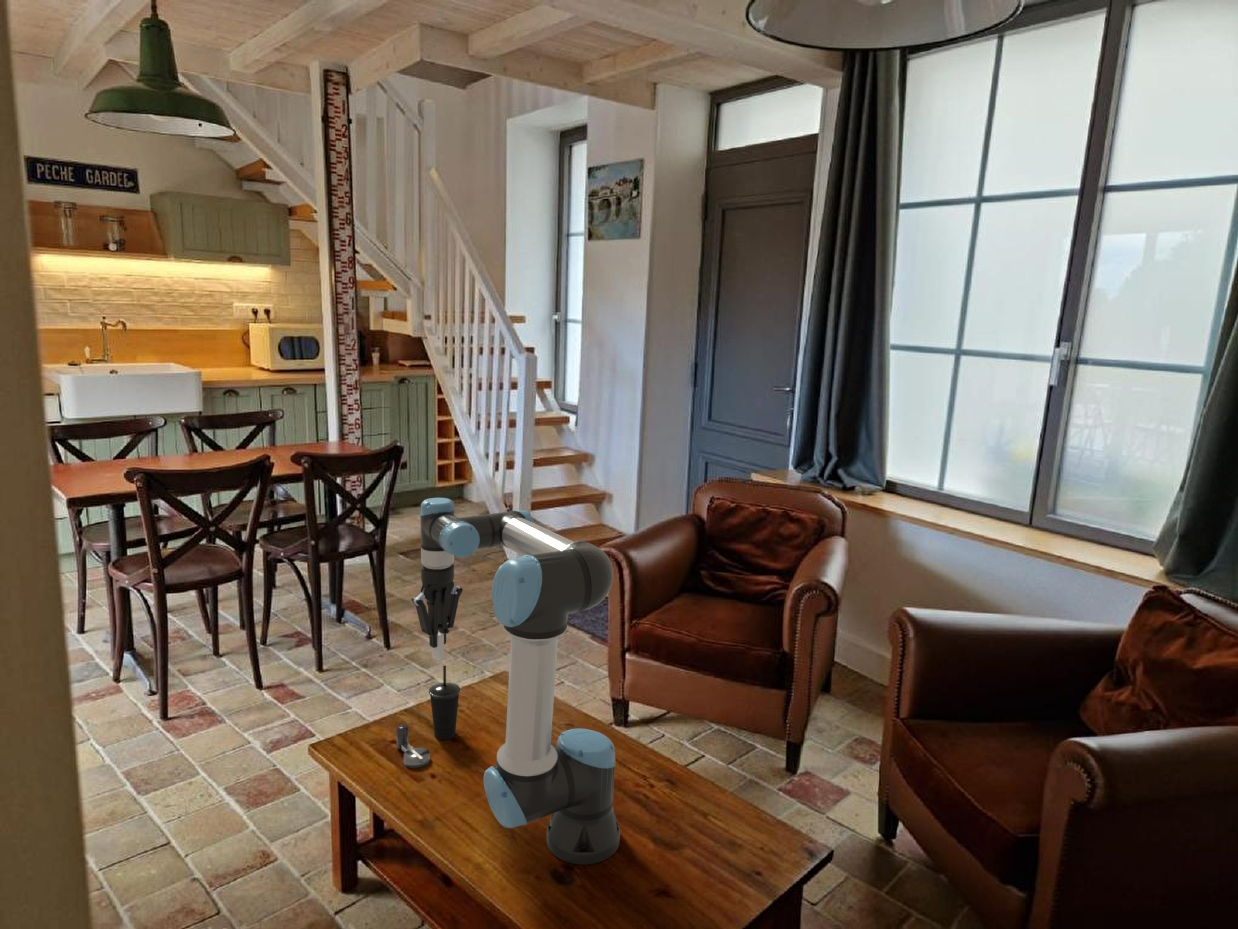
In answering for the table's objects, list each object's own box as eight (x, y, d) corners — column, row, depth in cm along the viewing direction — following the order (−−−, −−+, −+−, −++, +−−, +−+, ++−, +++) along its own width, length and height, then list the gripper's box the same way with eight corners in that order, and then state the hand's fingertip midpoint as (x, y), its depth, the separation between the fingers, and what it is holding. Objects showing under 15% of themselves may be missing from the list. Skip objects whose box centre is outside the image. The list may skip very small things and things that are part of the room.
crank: (434, 761, 187) (434, 740, 186) (411, 771, 183) (411, 749, 182) (411, 741, 195) (410, 721, 194) (388, 750, 191) (388, 729, 190)
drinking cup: (426, 735, 201) (425, 661, 197) (456, 729, 204) (456, 657, 200) (432, 750, 194) (432, 675, 190) (463, 744, 197) (463, 670, 193)
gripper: (451, 554, 191) (451, 645, 196) (404, 566, 182) (405, 661, 187) (470, 562, 187) (469, 655, 191) (423, 574, 177) (423, 672, 182)
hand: (437, 658), depth 189 cm, fingers closed
